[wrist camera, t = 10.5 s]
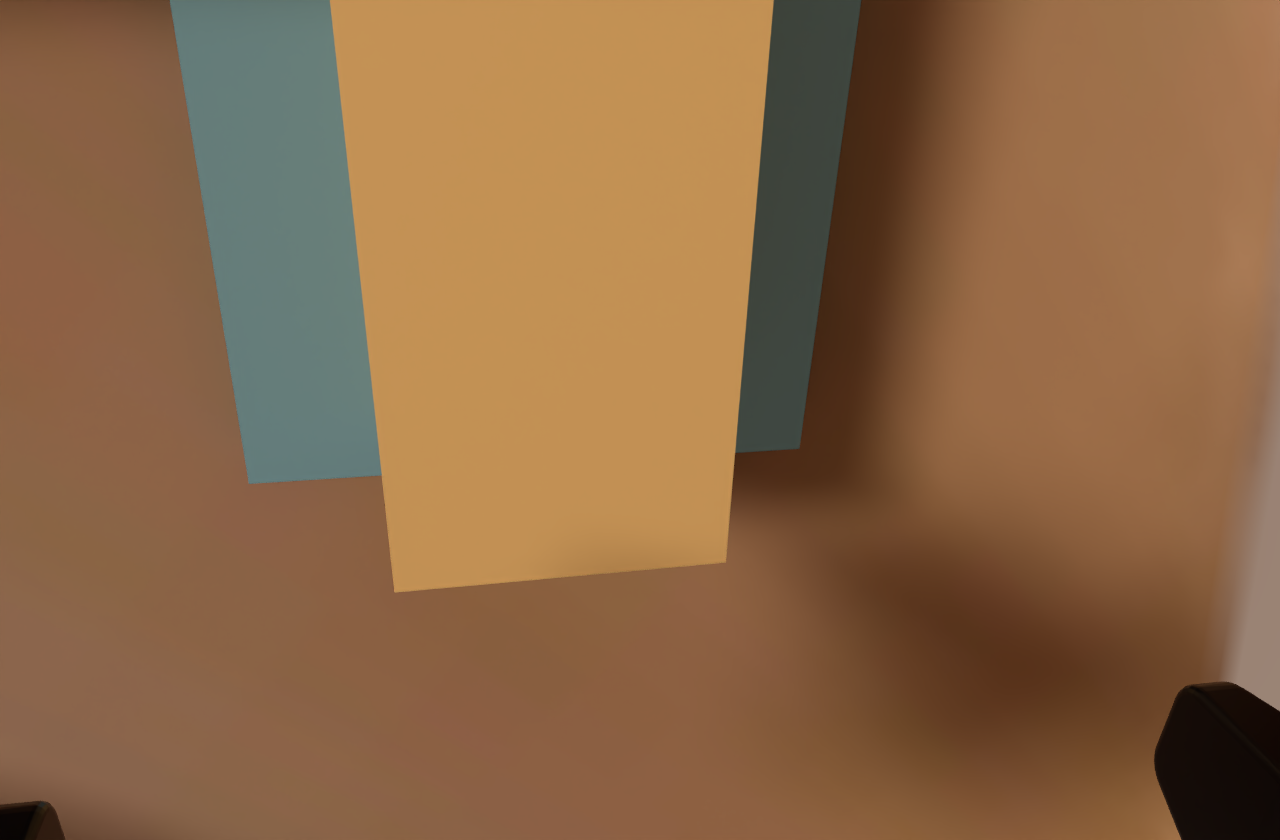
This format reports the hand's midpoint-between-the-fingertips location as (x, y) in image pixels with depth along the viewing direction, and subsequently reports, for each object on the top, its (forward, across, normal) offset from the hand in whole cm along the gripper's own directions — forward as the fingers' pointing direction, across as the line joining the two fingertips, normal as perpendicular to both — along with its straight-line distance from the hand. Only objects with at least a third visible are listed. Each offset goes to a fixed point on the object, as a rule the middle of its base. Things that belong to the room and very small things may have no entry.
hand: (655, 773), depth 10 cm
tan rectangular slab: (+10, 0, -4) cm, 11 cm away
